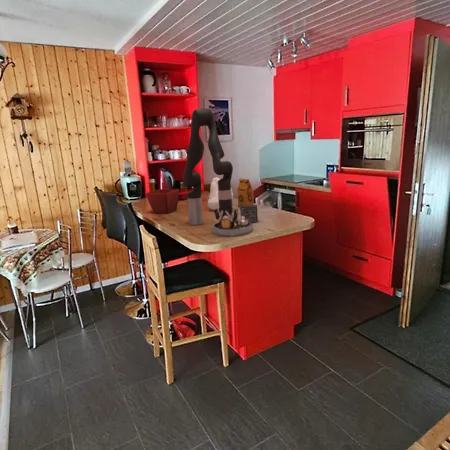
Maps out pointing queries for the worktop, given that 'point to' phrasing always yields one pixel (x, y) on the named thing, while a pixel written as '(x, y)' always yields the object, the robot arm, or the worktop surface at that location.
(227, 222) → the planet gear
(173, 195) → the plant pot
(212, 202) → the decorative rooster
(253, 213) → the small box
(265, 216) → the worktop surface
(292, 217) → the worktop surface
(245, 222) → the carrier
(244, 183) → the coffee package
